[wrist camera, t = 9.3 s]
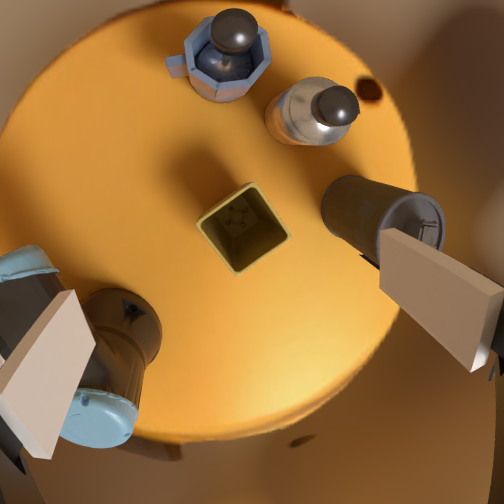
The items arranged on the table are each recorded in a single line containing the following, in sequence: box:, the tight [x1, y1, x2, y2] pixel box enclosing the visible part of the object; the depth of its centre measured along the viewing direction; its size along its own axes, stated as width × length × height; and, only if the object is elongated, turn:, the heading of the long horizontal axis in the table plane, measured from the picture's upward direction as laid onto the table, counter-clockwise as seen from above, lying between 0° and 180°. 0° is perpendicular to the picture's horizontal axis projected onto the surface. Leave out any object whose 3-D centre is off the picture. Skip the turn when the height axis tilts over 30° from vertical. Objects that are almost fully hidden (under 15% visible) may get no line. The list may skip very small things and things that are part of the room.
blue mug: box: [165, 16, 272, 103], centre depth 34 cm, size 11×9×12 cm
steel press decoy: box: [265, 77, 360, 146], centre depth 36 cm, size 10×8×18 cm
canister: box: [322, 175, 446, 271], centre depth 40 cm, size 11×10×20 cm
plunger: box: [198, 8, 258, 83], centre depth 29 cm, size 7×7×14 cm
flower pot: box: [195, 182, 292, 276], centre depth 43 cm, size 9×9×9 cm
